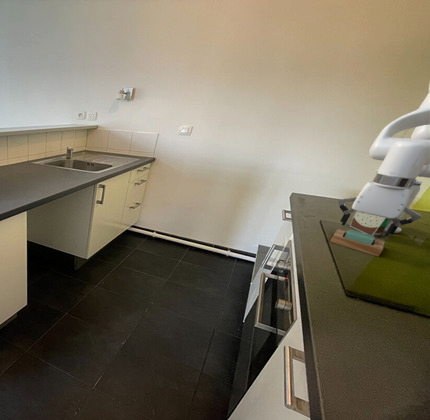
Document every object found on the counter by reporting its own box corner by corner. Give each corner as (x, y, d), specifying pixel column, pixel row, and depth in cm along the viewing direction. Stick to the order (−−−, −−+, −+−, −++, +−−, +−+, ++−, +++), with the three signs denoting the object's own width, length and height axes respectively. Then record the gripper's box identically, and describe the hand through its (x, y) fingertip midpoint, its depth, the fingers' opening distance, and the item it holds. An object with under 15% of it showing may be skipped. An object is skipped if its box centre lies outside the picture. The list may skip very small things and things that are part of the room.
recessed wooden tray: (334, 234, 92) (338, 228, 91) (380, 247, 84) (384, 241, 83) (329, 241, 86) (333, 235, 85) (378, 256, 78) (382, 249, 77)
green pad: (343, 238, 89) (349, 229, 88) (368, 246, 85) (375, 235, 83) (341, 243, 86) (346, 233, 84) (367, 250, 81) (373, 240, 80)
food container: (395, 240, 90) (411, 215, 86) (375, 238, 91) (390, 213, 87) (363, 226, 101) (376, 204, 97) (346, 224, 102) (358, 202, 98)
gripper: (439, 186, 72) (405, 237, 79) (352, 173, 85) (330, 218, 92) (441, 190, 68) (405, 243, 75) (349, 176, 81) (326, 222, 88)
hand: (363, 229), depth 83 cm, fingers open, 9 cm apart
